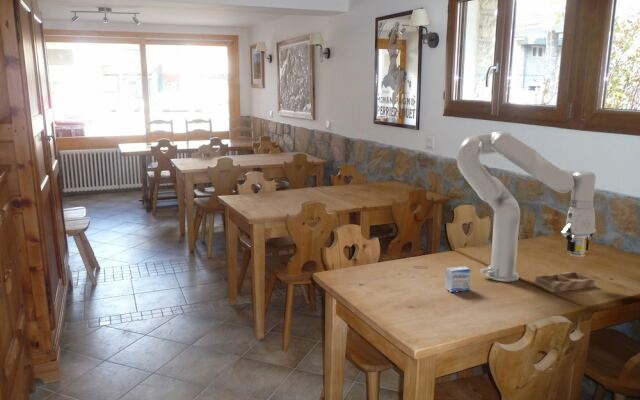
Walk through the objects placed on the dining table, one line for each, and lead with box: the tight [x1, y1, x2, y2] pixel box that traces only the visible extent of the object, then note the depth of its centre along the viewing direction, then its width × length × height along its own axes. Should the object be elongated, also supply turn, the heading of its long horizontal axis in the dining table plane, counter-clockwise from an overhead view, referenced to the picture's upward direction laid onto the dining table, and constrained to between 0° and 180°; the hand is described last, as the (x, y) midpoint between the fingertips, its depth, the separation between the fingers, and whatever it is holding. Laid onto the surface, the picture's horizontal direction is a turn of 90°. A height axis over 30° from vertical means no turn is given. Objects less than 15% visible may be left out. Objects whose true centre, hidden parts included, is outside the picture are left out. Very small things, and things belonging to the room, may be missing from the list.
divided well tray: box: [534, 270, 595, 293], centre depth 198 cm, size 19×10×3 cm, turn 106°
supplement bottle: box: [568, 234, 587, 258], centre depth 196 cm, size 6×6×10 cm
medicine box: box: [445, 265, 471, 293], centre depth 194 cm, size 8×4×9 cm, turn 106°
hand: (577, 249), depth 197 cm, fingers closed on supplement bottle, 5 cm apart
